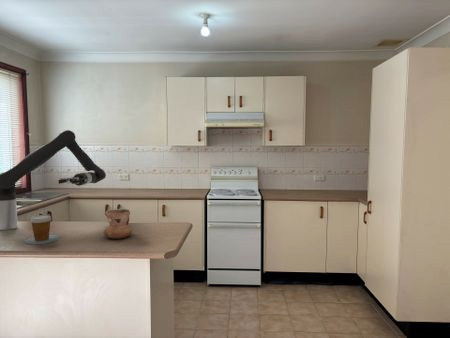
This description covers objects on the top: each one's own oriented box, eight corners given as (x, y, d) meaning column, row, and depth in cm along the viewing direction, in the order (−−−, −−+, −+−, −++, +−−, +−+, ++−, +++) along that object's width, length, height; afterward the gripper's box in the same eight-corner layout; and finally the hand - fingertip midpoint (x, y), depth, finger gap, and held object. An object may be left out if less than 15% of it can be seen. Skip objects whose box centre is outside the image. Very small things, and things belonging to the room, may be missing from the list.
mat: (17, 241, 166) (17, 241, 166) (47, 234, 180) (47, 233, 180) (36, 246, 159) (36, 245, 159) (66, 237, 173) (66, 237, 173)
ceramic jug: (119, 242, 164) (119, 215, 163) (96, 239, 169) (96, 212, 168) (140, 234, 181) (140, 208, 180) (118, 231, 186) (118, 206, 185)
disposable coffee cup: (36, 243, 162) (34, 219, 161) (28, 240, 168) (26, 217, 167) (55, 239, 170) (54, 216, 169) (47, 235, 176) (46, 214, 175)
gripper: (72, 172, 204) (54, 175, 188) (92, 173, 201) (76, 175, 186) (72, 184, 205) (54, 188, 189) (93, 185, 202) (77, 188, 186)
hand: (65, 181), depth 187 cm, fingers open, 8 cm apart
